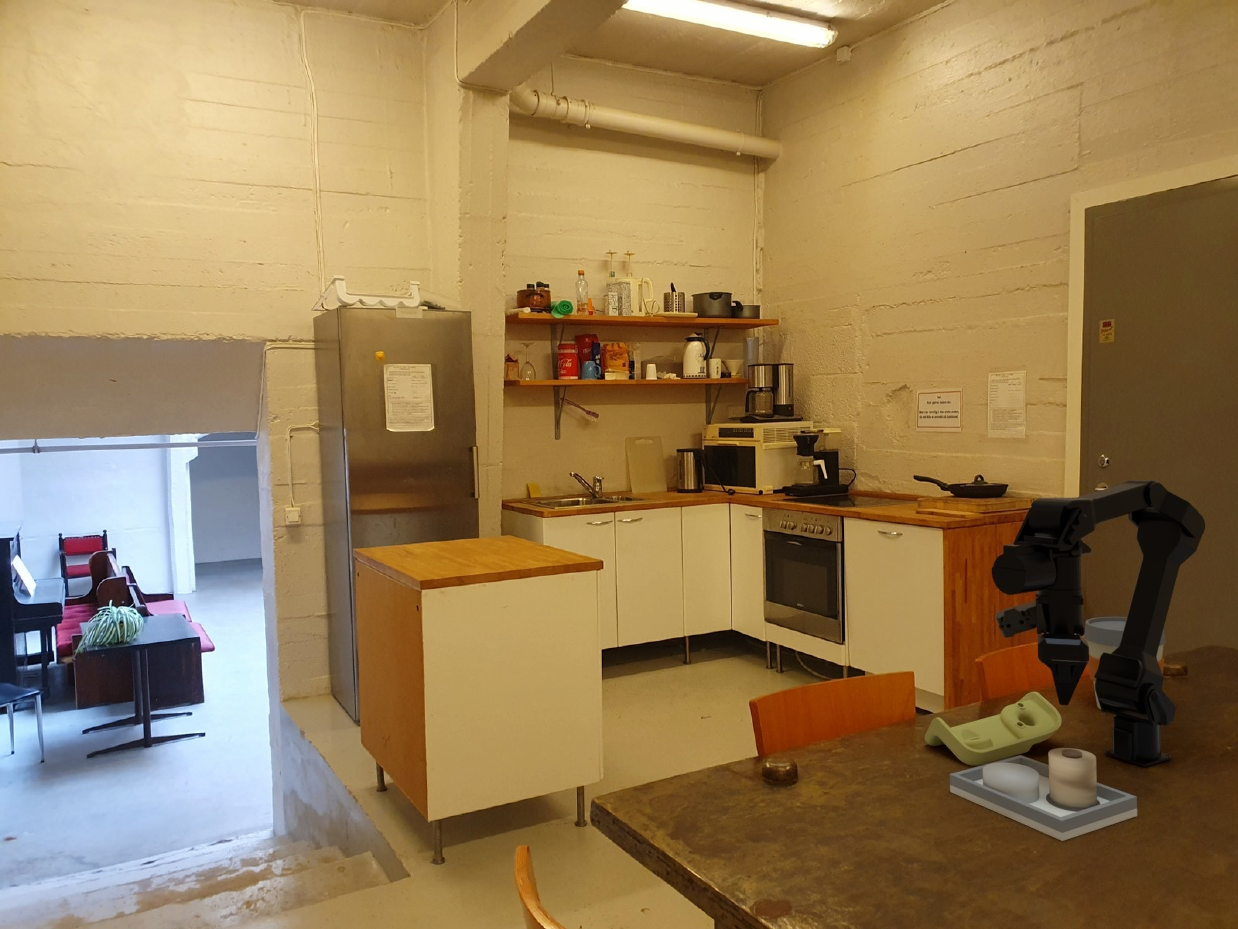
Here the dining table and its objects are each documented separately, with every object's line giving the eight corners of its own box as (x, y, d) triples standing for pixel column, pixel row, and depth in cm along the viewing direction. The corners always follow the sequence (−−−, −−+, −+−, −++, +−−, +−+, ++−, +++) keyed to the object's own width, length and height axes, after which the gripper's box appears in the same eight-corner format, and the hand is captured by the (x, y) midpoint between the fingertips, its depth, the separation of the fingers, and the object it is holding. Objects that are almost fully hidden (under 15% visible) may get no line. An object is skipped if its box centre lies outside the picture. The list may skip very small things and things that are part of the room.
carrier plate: (1021, 772, 134) (1020, 745, 134) (1137, 816, 117) (1136, 785, 117) (950, 791, 128) (949, 763, 127) (1062, 841, 111) (1061, 808, 111)
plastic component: (972, 756, 135) (929, 710, 143) (961, 791, 138) (920, 745, 147) (1075, 726, 142) (1029, 684, 150) (1062, 760, 145) (1017, 718, 153)
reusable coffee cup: (1183, 718, 154) (1181, 630, 154) (1108, 721, 154) (1106, 633, 154) (1141, 696, 167) (1139, 615, 166) (1072, 699, 167) (1070, 618, 166)
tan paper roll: (1069, 788, 124) (1067, 742, 124) (1106, 803, 119) (1105, 754, 119) (1040, 797, 122) (1038, 750, 121) (1077, 812, 116) (1076, 763, 116)
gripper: (1000, 575, 141) (1003, 675, 142) (996, 596, 124) (999, 710, 125) (1080, 577, 137) (1083, 680, 137) (1087, 599, 120) (1090, 717, 120)
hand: (1062, 695), depth 130 cm, fingers open, 9 cm apart
